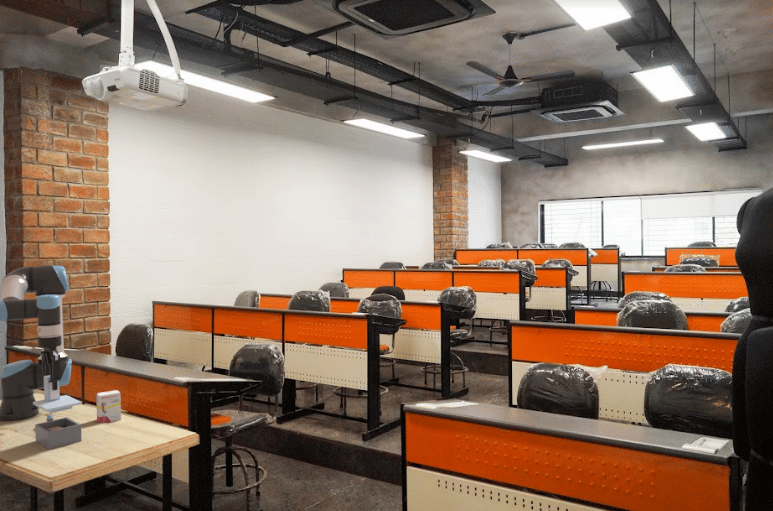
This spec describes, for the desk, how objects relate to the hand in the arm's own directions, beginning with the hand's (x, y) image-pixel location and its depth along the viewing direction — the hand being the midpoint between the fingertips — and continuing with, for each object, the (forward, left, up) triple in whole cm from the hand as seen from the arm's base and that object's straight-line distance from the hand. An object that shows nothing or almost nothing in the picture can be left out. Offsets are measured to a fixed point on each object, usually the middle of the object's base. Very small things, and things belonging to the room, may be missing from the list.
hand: (52, 397), depth 215 cm
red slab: (-14, +3, -17) cm, 22 cm away
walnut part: (+2, 0, -16) cm, 16 cm away
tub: (+5, 0, -16) cm, 17 cm away
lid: (+5, 0, -3) cm, 6 cm away
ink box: (-7, +23, -17) cm, 30 cm away
